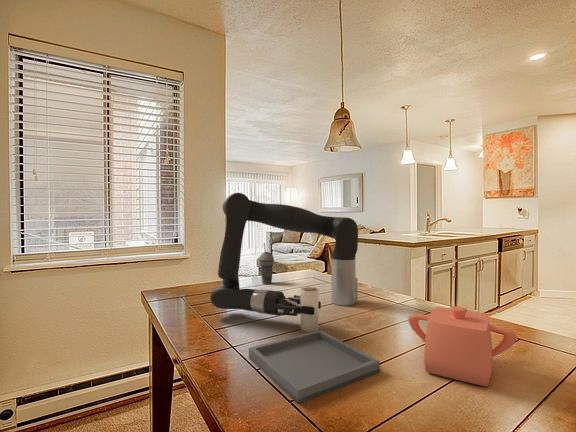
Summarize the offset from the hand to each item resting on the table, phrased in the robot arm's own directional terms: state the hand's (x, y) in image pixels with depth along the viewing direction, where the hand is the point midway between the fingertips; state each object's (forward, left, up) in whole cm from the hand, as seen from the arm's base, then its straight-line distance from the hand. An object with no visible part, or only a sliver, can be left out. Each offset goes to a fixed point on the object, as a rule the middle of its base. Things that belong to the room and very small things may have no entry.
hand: (317, 308), depth 98 cm
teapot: (-15, +35, -7) cm, 39 cm away
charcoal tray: (+15, +17, -6) cm, 23 cm away
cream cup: (+1, -2, -6) cm, 7 cm away
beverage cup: (-15, -62, -7) cm, 64 cm away
